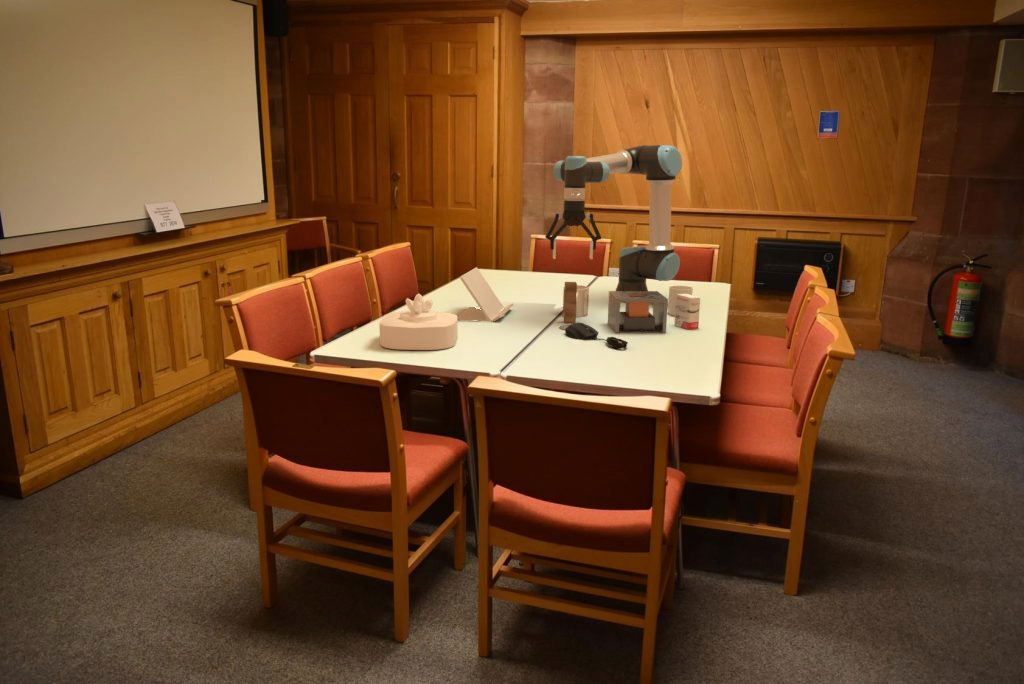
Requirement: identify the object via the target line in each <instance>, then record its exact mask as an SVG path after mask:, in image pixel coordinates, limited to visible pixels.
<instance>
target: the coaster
mask: <svg viewBox="0 0 1024 684" xmlns="http://www.w3.org/2000/svg"><path fill="white" fill-rule="evenodd" d="M569 325H570V324H562V325H559V326H558V328H559V330H562V331H565V329H566V328H567V327H568V326H569Z"/></svg>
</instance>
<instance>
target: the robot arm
mask: <svg viewBox="0 0 1024 684" xmlns="http://www.w3.org/2000/svg"><path fill="white" fill-rule="evenodd" d="M682 167H683V159H682V155H681V152H680V151H679V149H678V148H677V147H675V146H674V145H666V144H660V145H659V144H657V145H656V144H655V145H648V144H647V145H645V144H642V145H637V146H633V147H630V148H625V149H619V150H618V151H616V153H611V154H604V155H599V156H593V157H588V158H587V157H586V156H585V155H584V156H583V155H568V156H566V157H565V160H563V161H562V160H561V161H560V160H559V161H557V162H556V163H555V164H554V167H553V170H552V171H553V178H554V179H555V180H556V181H559V182H563V183H564V190H563V198H564V199H565V200H564V201H563V212H562V213H559V212H556V213H555V214H554V219H553V221H552V223H551V224H550V227H549V229H548V231H547V233H546V234H545V239H547V240H549V245H550V246H549V248H550V250H552V259H553V260H556V256H557V253H556V252H557V241H556V239H557V237H558V236H559V235H560V234H561V233H562V232H563V230H564V229H565V228H567V226H569V227H573V226H574V227H579V226H581V227H582V229H583V230H584V231H585V232H586V234H587V235H588V236H589V237H590V239H591V240H589V256H588V257H589V260H593V259H594V258H593V256H594V251H595V250H596V248H597V241H599V240H601V239H602V236H601V233H600V231H599V229H598V227H597V225H596V223H595V220H594V214H593V213H591V212H590V213H586V212H585V208H586V207H585V205H586V203H585V198H586V184H589V183H591V184H602V183H605V182H607V180H609V178H610V175H611V174H612V175H613V174H617V173H619V174H620V175H627V174H629V175H630V174H634V175H641V176H643V175H644V176H645V181H646V182H647V183H648V184H649V216H648V217H649V220H648V221H649V222H648V223H649V225H648V227H649V229H648V231H649V232H648V233H649V234H648V245H643V246H642V245H641V246H640V245H639V246H628V247H623V248H621V249H620V251H619V257H618V263H619V264H618V283H617V284H616V288H615V291H649V290H648V289H649V288H648V286H647V279H649V280H653V281H654V280H656V281H659V282H661V281H663V282H668V281H671V280H672V279H674V278H675V277H676V275H677V274H678V272H679V269H680V265H681V260H680V257H679V255H678V254H677V253H676V252H675V247H674V246H673V244H672V243H671V236H672V235H671V234H672V232H671V229H672V184H673V183H674V182H675V181H676V176H678V175H679V174H680V173H681V170H682ZM561 219H563V222H562V223H561V225H560V226H559V227H558V228H557V229H556V230H555V232H554V233H553V231H554V229H555V228H556V226H557V223H558V221H560V220H561ZM585 219H587V220H588V221H589V224H590V225H591V228H592V229H593V232H594V234H595V235H594V234H593V233H592V231H591V229H589V228H588V226H587V225H586V224H585V222H584V221H585ZM552 233H553V234H552ZM630 297H646V296H630ZM622 304H626V302H622Z"/></svg>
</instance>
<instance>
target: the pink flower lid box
mask: <svg viewBox="0 0 1024 684" xmlns="http://www.w3.org/2000/svg"><path fill="white" fill-rule="evenodd" d="M433 303H434V302H433V301H432V299H426V300H425V301H424V298H423V296H422V295H421V294H420V293H417V294H416V295H415V297H414V299H413V300H412V299H410V298H408V297H407V298H406V299H405V305H406V307H407V308H408V310H405V311H396V312H390V313H387V314H384V316H383V317H382V318H381V320H379V325H378V326H379V345H380V346H381V347H383V348H386V349H390V350H391V349H392V350H399V351H400V350H404V351H405V350H408V351H411V350H413V351H433V350H435V351H436V350H437V351H438V350H444V349H449V348H452V347H454V346H456V344H457V341H458V339H459V338H458V337H459V336H458V328H459V327H458V320H457V316H458V315H457V314H454V313H449V312H446V311H445V312H444V311H434V310H431V309H432V307H433Z"/></svg>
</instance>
